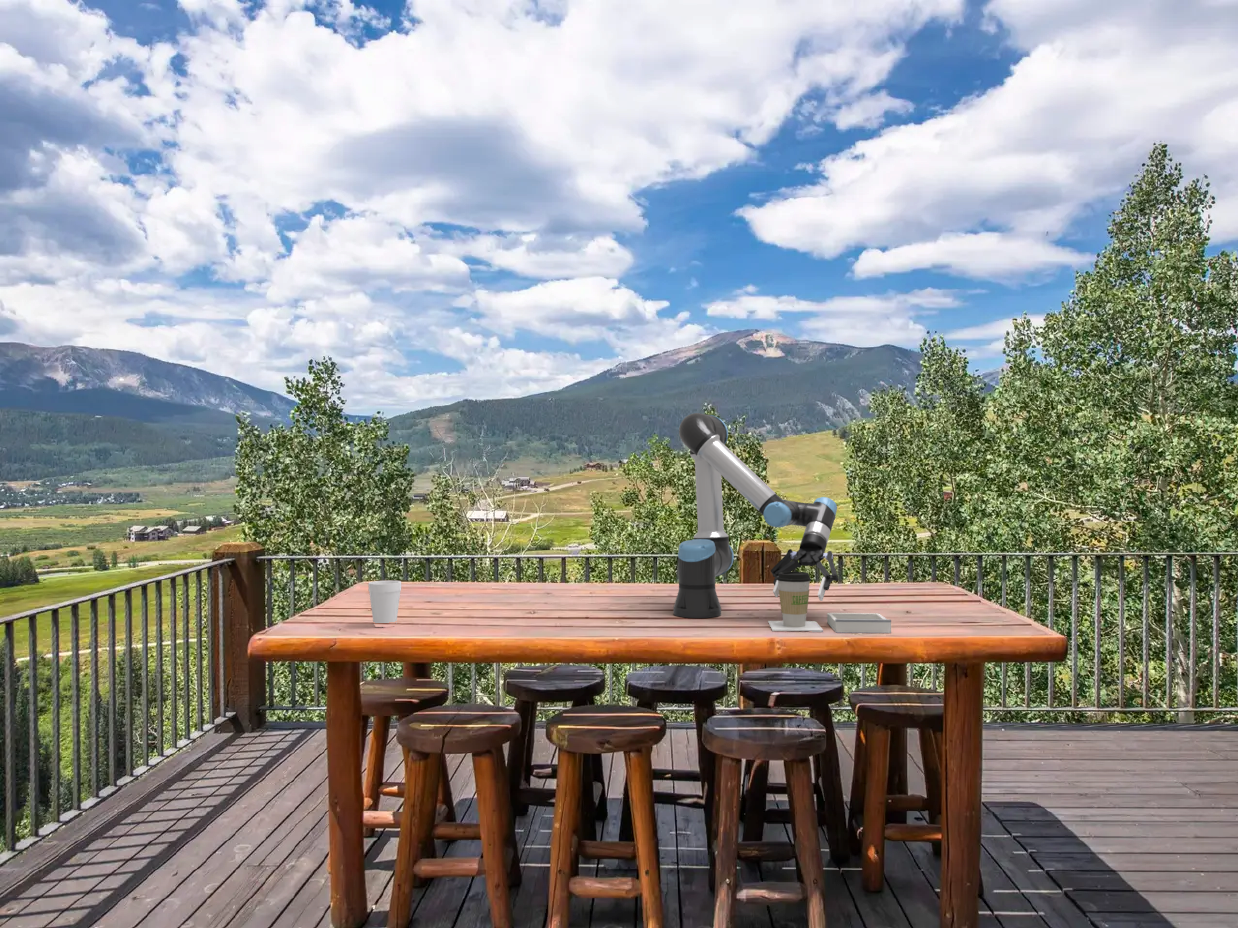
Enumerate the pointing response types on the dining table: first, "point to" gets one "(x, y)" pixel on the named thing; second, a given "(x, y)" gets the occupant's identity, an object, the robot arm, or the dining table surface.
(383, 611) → the foam cup
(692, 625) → the dining table surface
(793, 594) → the coffee cup
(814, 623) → the rubber mat
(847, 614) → the cup holder
